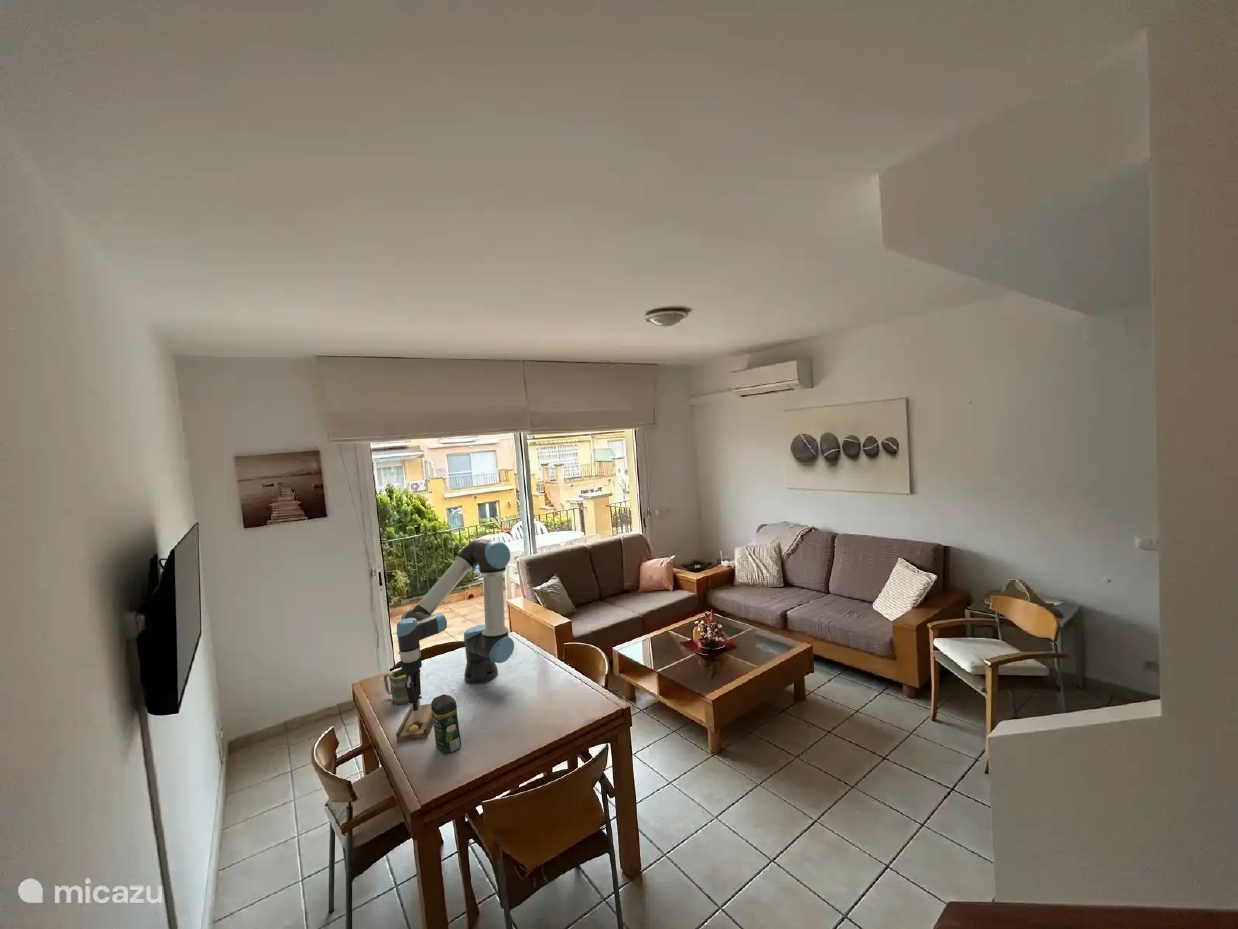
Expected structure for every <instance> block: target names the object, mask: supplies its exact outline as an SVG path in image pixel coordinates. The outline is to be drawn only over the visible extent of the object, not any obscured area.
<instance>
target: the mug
mask: <svg viewBox="0 0 1238 929" xmlns="http://www.w3.org/2000/svg"><path fill="white" fill-rule="evenodd" d="M406 675H407V673H405V672H403V671H402V670H401V668H399V669H397V670H394V671H392V672H391V673H389V672H388V673H386V674H384V675H383V683H384V689H385V692H386V693H387V695H391V698H392V701H391V703H392V704H393V705H394V706H395V707H401V706H408V705H411V704H410V703H409V699H408V694H407V689H406V687H405V683H407V680H406ZM388 678H389V682H388ZM389 683H390V687H389Z"/></svg>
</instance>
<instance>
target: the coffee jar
mask: <svg viewBox="0 0 1238 929" xmlns="http://www.w3.org/2000/svg"><path fill="white" fill-rule="evenodd" d="M430 704H431V710H432V716H433V723H434V724H433V730H434V741H435V747H436V749H437V751H438V752H440V753H441V754H442V755H446V754H447V755H449V754H451V753H454V752H456V751H457V750H459V749H460V747H462V738H461V733H460V724H459V717H458V706H457V700H455V698H454V697H453V696H452V695H448V694H445V693H444V694H441V695H438V696H435V697H434V698H433V700H432V701H431V703H430Z"/></svg>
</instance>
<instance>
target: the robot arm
mask: <svg viewBox="0 0 1238 929" xmlns="http://www.w3.org/2000/svg"><path fill="white" fill-rule="evenodd" d="M510 560H511V551H510V548H509V546H508V545H507V544H505V543H504V542H502V541H499V540H490V539H484V538H479V539H476V540H473V541H471V542H470V543H469V544H467V545H466V546H464V548H462V549H461V550H460V551H459V553H458V554H457V555H456V556H455V557H454V562H453V563H452V564H451V565H450V566H449V567H448V569H447V570H446V571H445V572H444V573H443V575H441V576H440V578H438V580H437V581H436V582H435V583H434V584H433V585H432V587H431V588H430V589H429V590H428V592H427V593H425V595H424V596H423V597H422V598H421V600H419V602H418V603H417V605H415V606H414V607H413V609H408V610H406V611H405V612H403V613H402V615H401V618H400V620H399V621H398V622H397V623H396V636H397V643H398V653H397V654H398V655H399V660H400V669H401V670H402V671H403V672H405V673H407V675H406V680H407V683H405V687H406V689H407V694H408V699H409V703H410V704H409V705H412V711H413V718H419V717H421V707H420V705H421V700H420V699H422V698H423V696H422V692H421V691H422V690H421V688H422V687H421V667H422V665H423V664H422V657H421V655H422V653H421V652H422V651H421V645H420V641H422V640H425V639H428V638H431V637H433V636H435V635H439V634H441V633H442V632H444V631H445V630H447V627H448V621H447V619H446V616H445V614H443V613H435V611H436V610H437V609H438V608H439V606H440V605H441V604H442V603H443V602H444V600H446V598H447V597H448V596H449V595H450V593H451V592H452V591H453V590H454V589H455V588H456V586H457V585H458V584H459V583H460V582H461V580H462V579H464V577H465V575H466V574H467V573H468V572H472V571H473V570H474V569H475V568H476V567H477V566H478V567H479V568H478V572H479V574H481V575H482V583H483V602H484V603H483V605H484V607H483V608H484V609H483V610H484V624H480V625H475V626H473V627H470V628H467V629H466V630H465V631H464V632H463V641H464V649H465V658H466V664H465V669H464V674H463V676H464V681H465V682H466V683H468V684H480V683H484V682H488V681H491V680H492V679H494V678H496V676H497V675H498V672H499V671H498V666H497V664H502V663H505V662H507V661H508V660H509V659H510V658H511V656H512V655H513V653H514V650H515V642H514V640H513V639H512V637H510V636H509V628H508V627H507V626H506V625H505V624H506V623H505V602H504V601H505V600H504V579H503V578H504V576H503V574H504V573H505V572H506V571H507V570H506V566H508V564H509V562H510ZM434 613H435V614H434Z"/></svg>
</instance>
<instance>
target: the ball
mask: <svg viewBox="0 0 1238 929" xmlns="http://www.w3.org/2000/svg"><path fill="white" fill-rule="evenodd" d="M416 730H420V729H419V728H418V726H417V725H412V726H410V728H409V731H416Z"/></svg>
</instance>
